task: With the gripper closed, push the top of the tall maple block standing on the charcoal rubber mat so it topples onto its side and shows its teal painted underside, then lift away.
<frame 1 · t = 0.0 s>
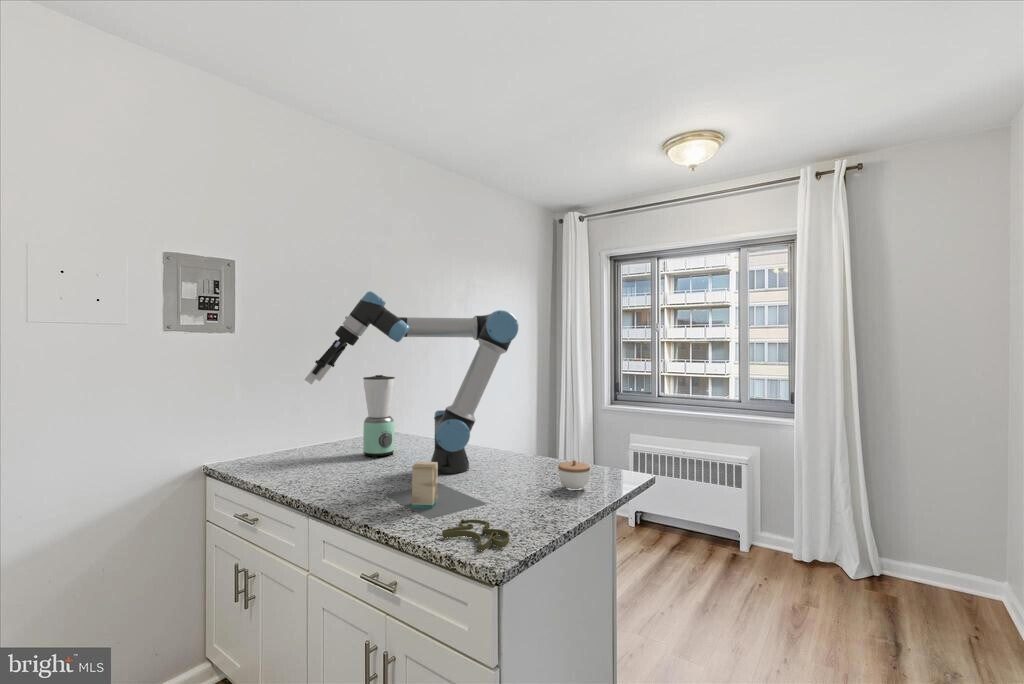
hand: (312, 380, 166), 36 cm above the countertop, tool tilted 35°, fingers open, 13 cm apart
charcoal mat: (434, 502, 148), on the countertop
lidded jar: (574, 488, 163), on the countertop
maple block: (425, 504, 142), point 1 cm above the countertop, touching charcoal mat
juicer: (378, 455, 212), on the countertop
cookie cutter: (478, 539, 121), on the countertop
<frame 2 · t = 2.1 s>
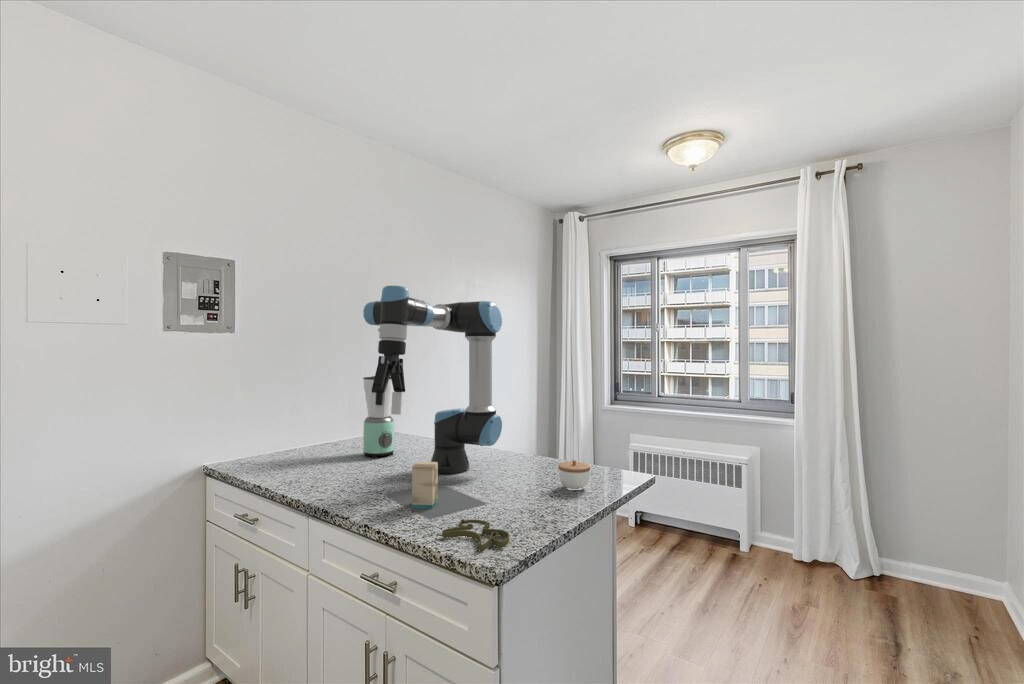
hand: (388, 416, 135), 28 cm above the countertop, tool pointing down, fingers open, 13 cm apart
nothing on the countertop moved.
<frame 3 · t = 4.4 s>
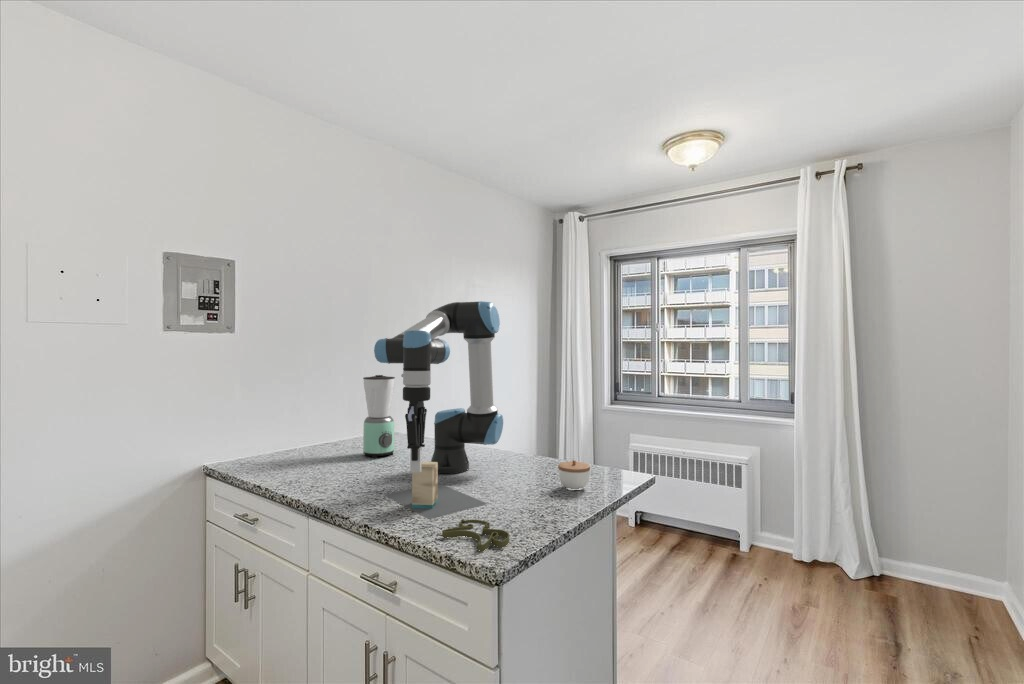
hand: (415, 471, 133), 13 cm above the countertop, tool pointing down, fingers closed
nothing on the countertop moved.
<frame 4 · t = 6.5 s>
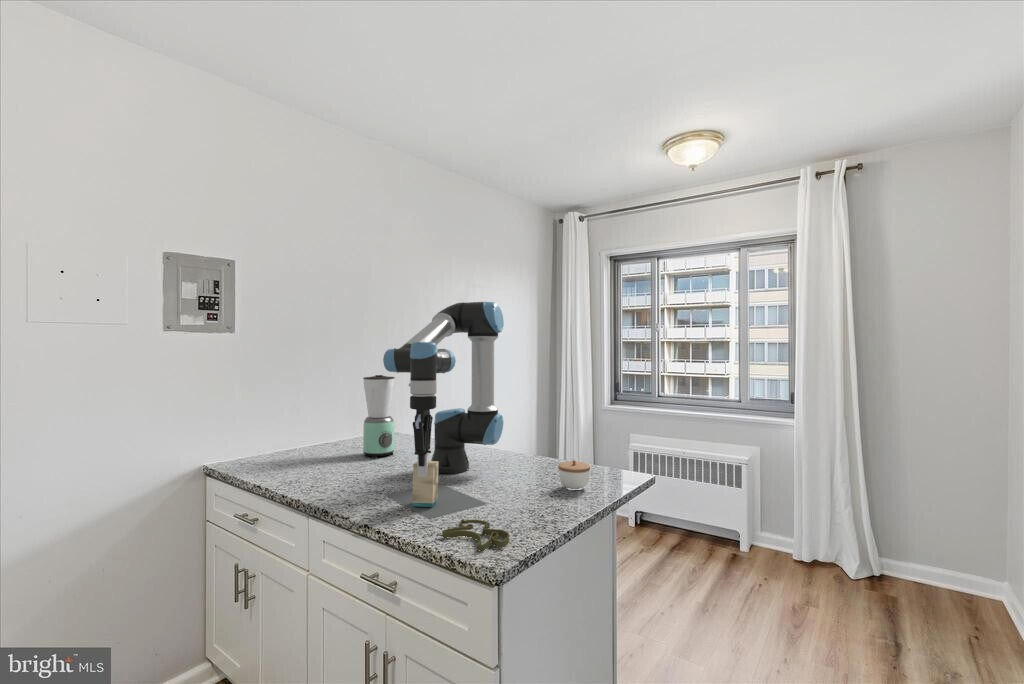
hand: (422, 476, 140), 10 cm above the countertop, tool pointing down, fingers closed
maple block: (425, 504, 142), point 1 cm above the countertop, touching charcoal mat, gripper
everything else where it was.
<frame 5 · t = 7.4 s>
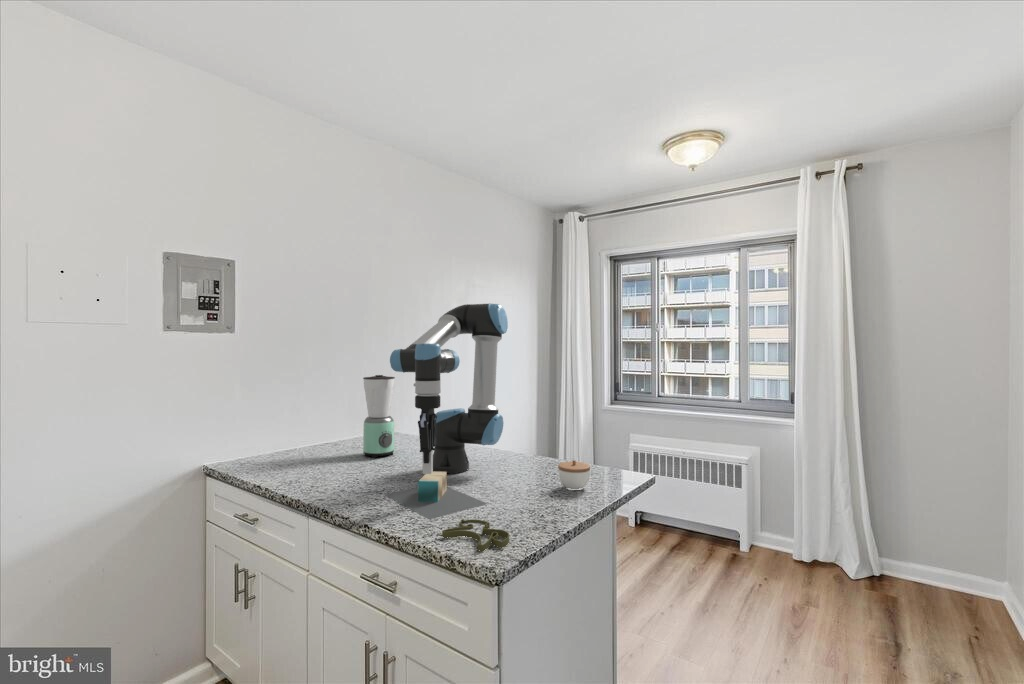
hand: (427, 473, 145), 10 cm above the countertop, tool pointing down, fingers closed
maple block: (427, 491, 146), point 4 cm above the countertop, tilted 90°, touching charcoal mat
everything else where it was.
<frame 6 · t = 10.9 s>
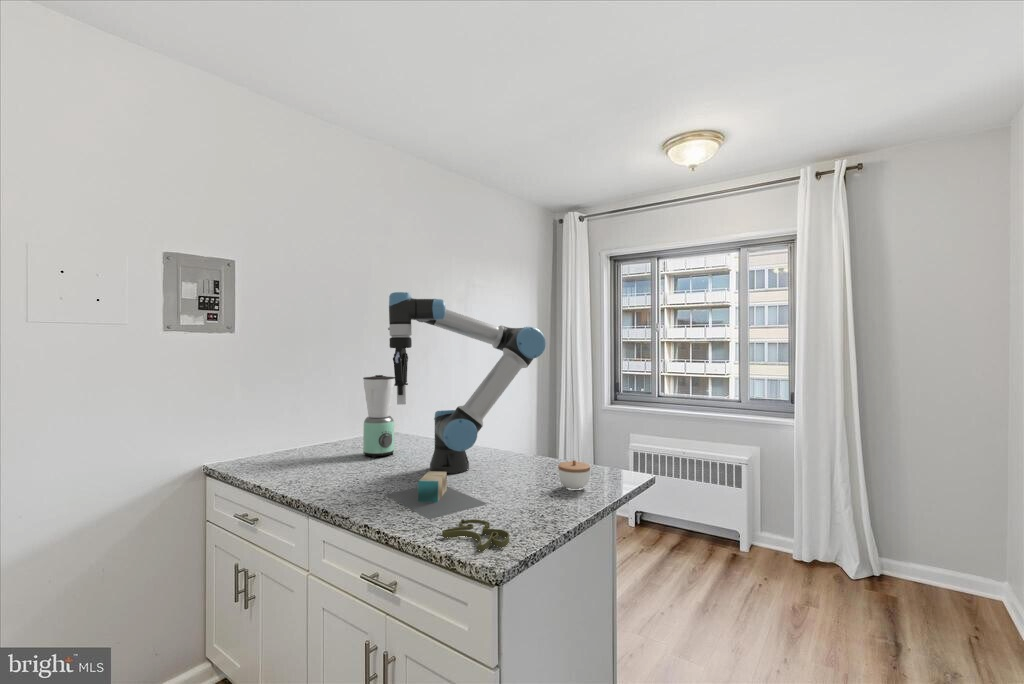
hand: (401, 404, 169), 28 cm above the countertop, tool pointing down, fingers closed
nothing on the countertop moved.
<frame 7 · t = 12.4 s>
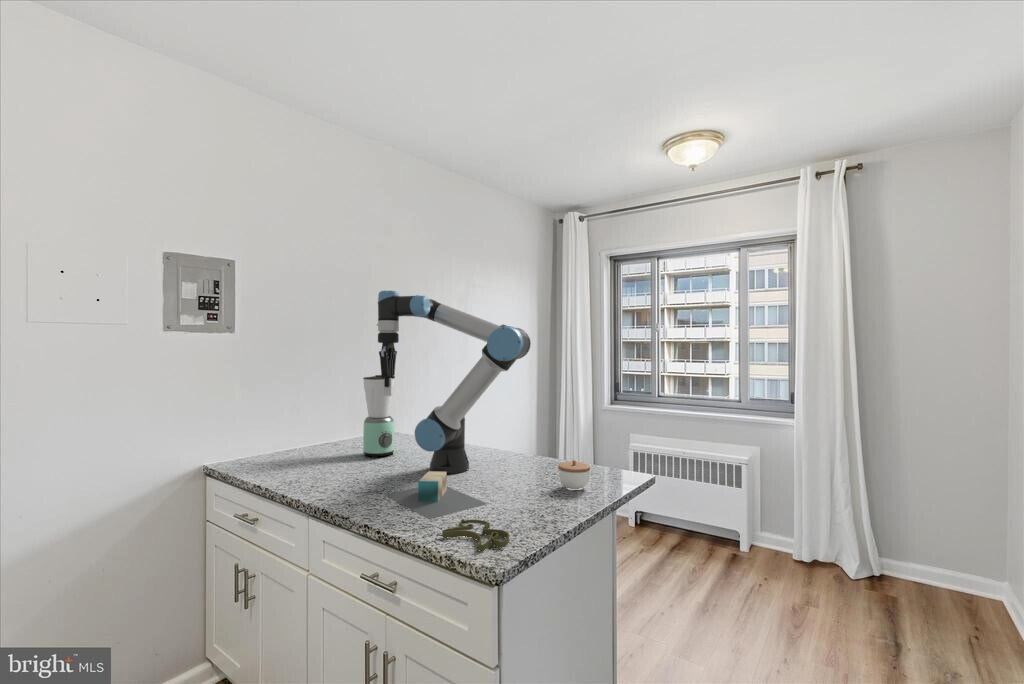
hand: (388, 395, 180), 29 cm above the countertop, tool pointing down, fingers closed
nothing on the countertop moved.
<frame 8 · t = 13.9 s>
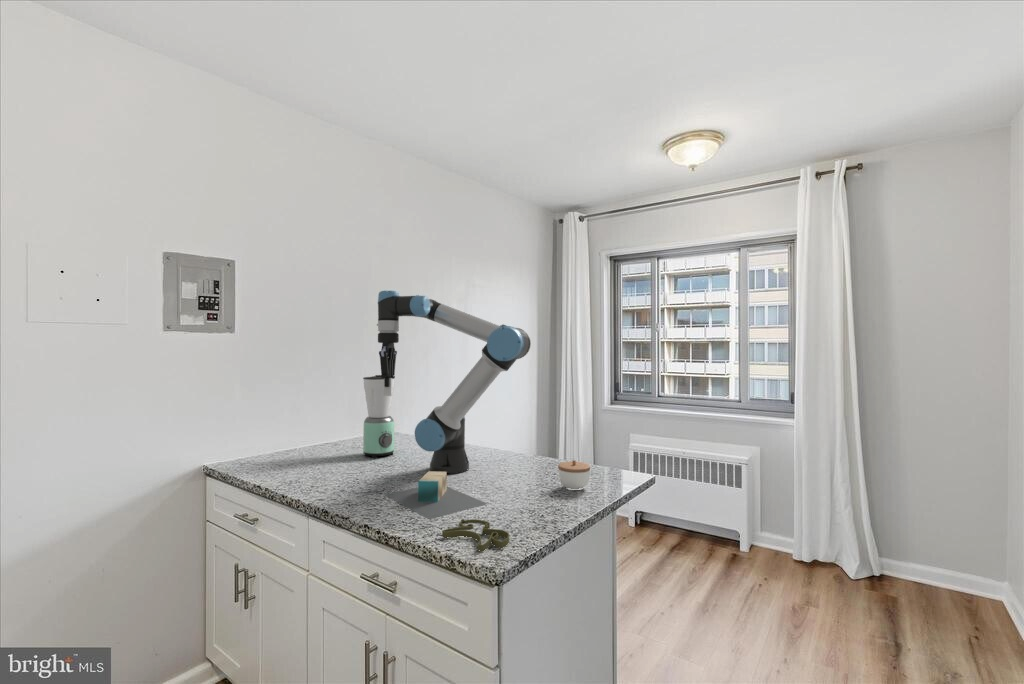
hand: (388, 395, 180), 29 cm above the countertop, tool pointing down, fingers closed
nothing on the countertop moved.
at the end: maple block tilted 90°; maple block inside the target area (0.6 cm from its centre), point 4.0 cm above the countertop; the gripper is holding nothing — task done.
